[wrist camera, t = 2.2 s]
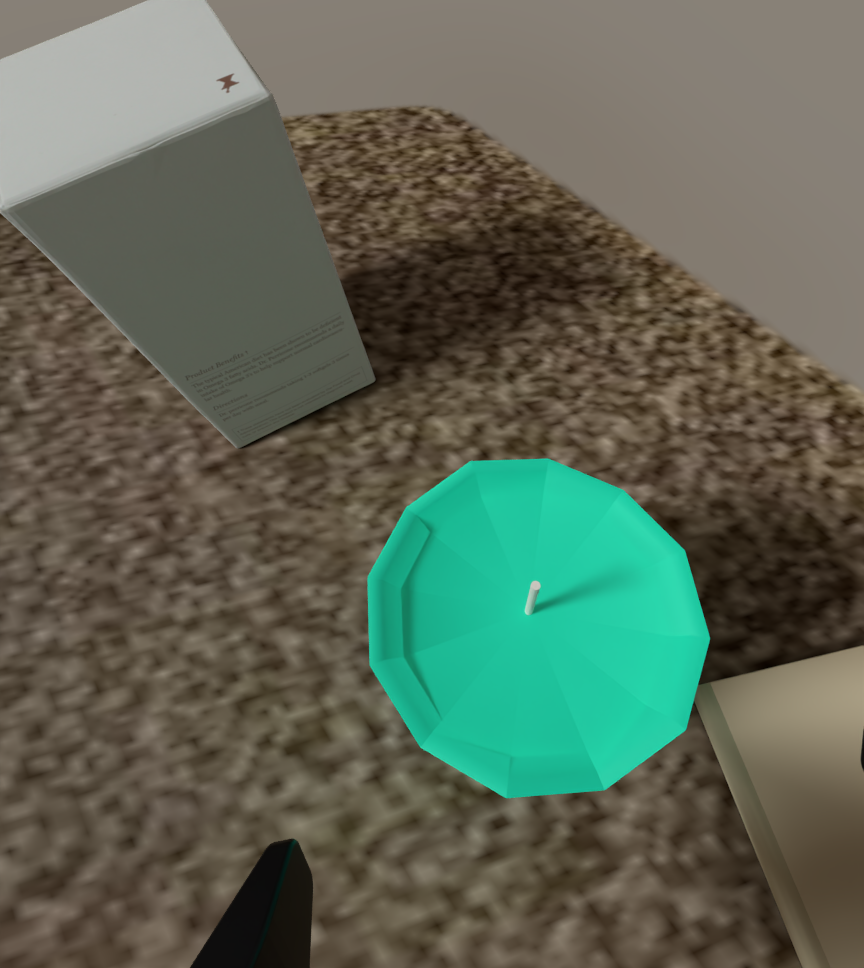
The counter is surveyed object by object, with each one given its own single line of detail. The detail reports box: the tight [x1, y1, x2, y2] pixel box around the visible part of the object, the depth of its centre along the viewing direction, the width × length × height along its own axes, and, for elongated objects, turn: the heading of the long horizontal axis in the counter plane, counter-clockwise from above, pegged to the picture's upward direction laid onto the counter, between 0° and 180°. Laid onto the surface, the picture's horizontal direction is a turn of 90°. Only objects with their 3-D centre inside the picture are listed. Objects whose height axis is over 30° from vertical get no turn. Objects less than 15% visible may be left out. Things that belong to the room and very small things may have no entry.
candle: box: [368, 459, 710, 798], centre depth 13 cm, size 6×6×12 cm
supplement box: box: [0, 0, 375, 448], centre depth 20 cm, size 7×7×13 cm
